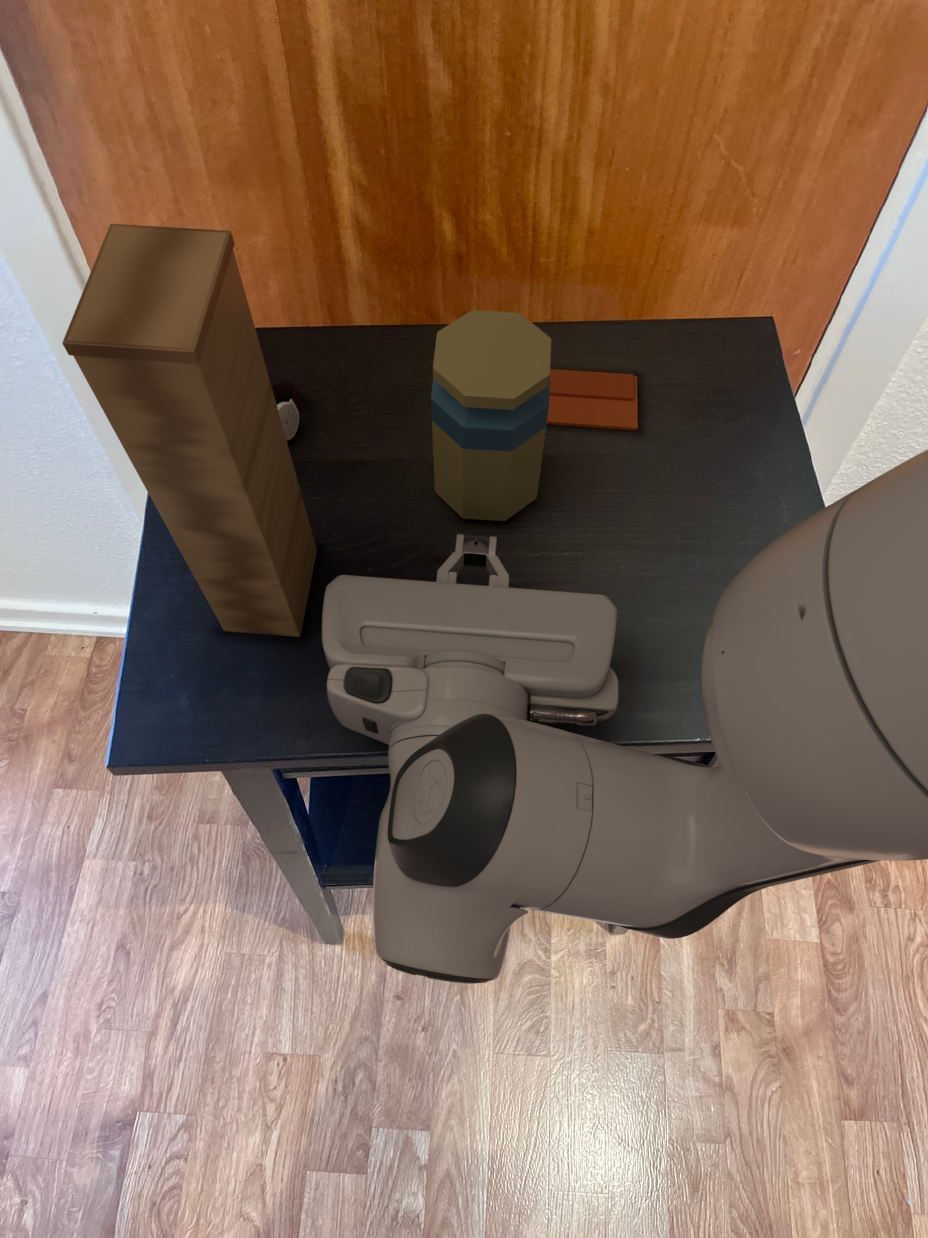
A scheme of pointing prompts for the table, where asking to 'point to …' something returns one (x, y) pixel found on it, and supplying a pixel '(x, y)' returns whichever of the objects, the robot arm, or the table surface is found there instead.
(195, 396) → the tall box
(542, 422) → the jar
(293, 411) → the watch
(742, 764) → the robot arm
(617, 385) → the cloth
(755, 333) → the table surface
